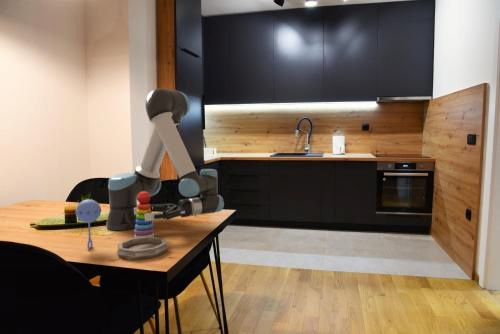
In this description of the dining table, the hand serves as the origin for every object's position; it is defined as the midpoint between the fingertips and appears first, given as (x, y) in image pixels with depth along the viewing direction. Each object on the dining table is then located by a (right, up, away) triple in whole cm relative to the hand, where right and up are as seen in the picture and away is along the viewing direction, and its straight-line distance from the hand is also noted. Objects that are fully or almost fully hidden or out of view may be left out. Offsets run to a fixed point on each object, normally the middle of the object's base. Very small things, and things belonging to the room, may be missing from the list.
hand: (139, 214), depth 145 cm
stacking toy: (+1, -10, +2) cm, 10 cm away
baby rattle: (-15, -11, -9) cm, 21 cm away
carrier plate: (+6, -11, -14) cm, 19 cm away
